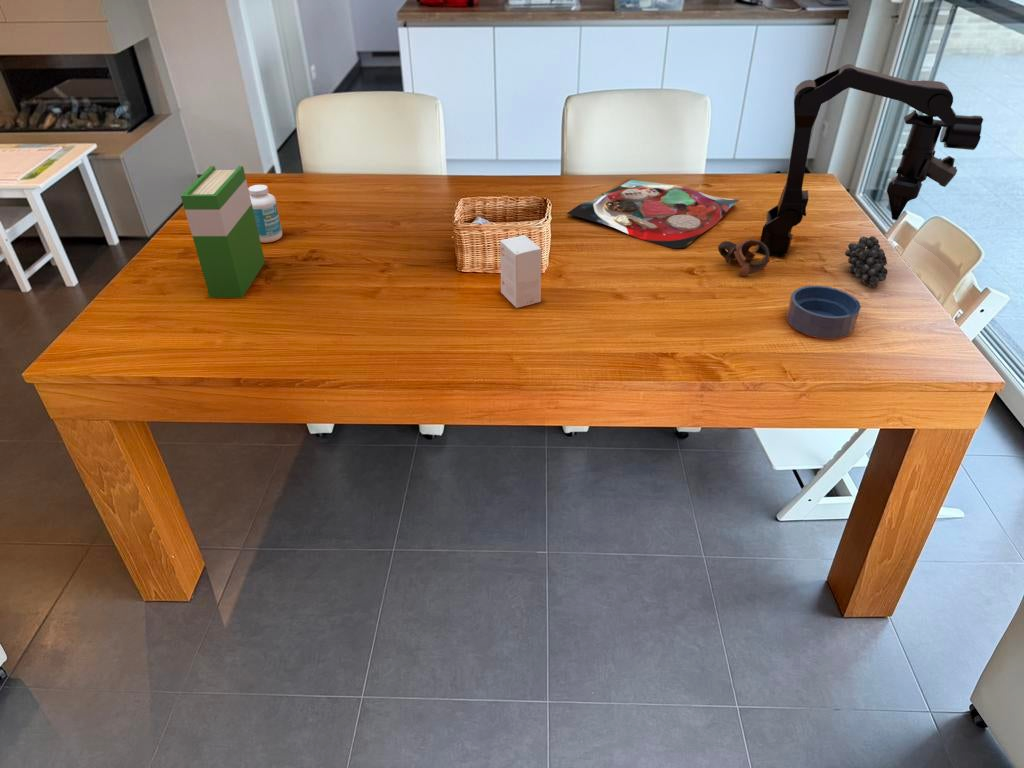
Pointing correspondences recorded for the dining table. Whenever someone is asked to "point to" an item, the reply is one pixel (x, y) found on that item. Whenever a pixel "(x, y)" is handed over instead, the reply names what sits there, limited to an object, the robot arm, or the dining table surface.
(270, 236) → the pill bottle
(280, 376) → the dining table surface
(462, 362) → the dining table surface
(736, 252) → the brown looped ring sculpture
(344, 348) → the dining table surface
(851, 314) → the bowl
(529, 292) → the small box
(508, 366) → the dining table surface
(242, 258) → the hardback book
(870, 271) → the fruit
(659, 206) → the platter
